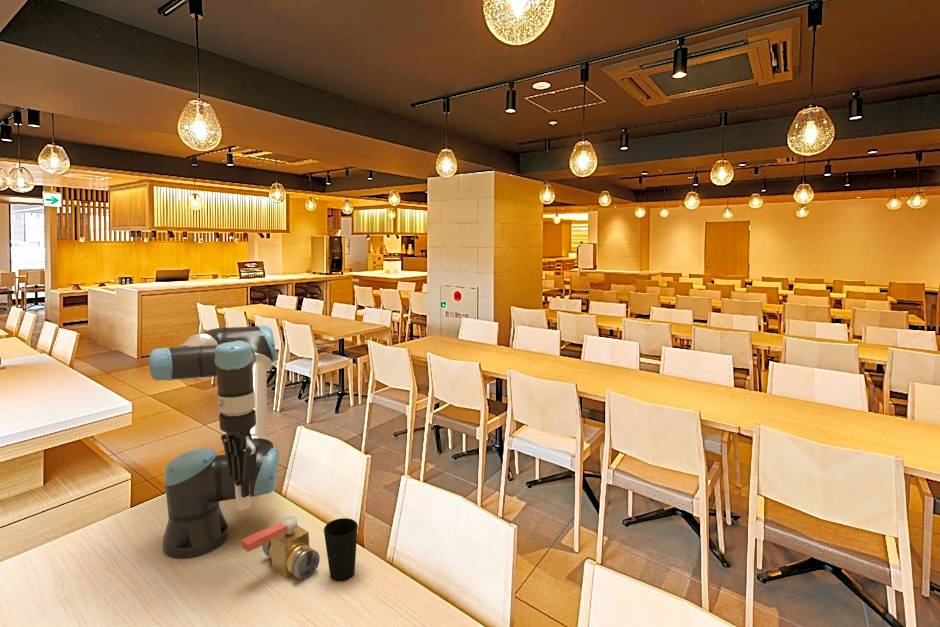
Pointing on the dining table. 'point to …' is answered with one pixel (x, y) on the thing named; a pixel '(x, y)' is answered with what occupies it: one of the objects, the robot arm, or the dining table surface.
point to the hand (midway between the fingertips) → (243, 507)
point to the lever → (269, 533)
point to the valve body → (293, 554)
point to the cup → (341, 548)
